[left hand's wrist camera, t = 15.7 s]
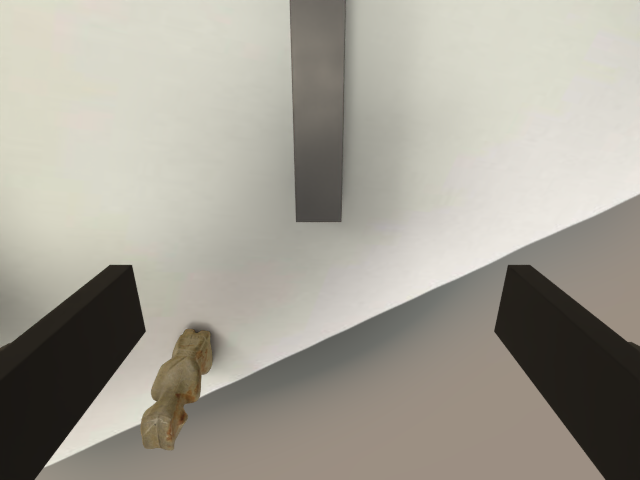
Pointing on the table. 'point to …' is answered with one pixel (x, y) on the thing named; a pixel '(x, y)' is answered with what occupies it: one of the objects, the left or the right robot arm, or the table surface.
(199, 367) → the sculpture
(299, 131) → the plank
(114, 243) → the table surface
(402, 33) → the table surface
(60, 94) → the table surface
